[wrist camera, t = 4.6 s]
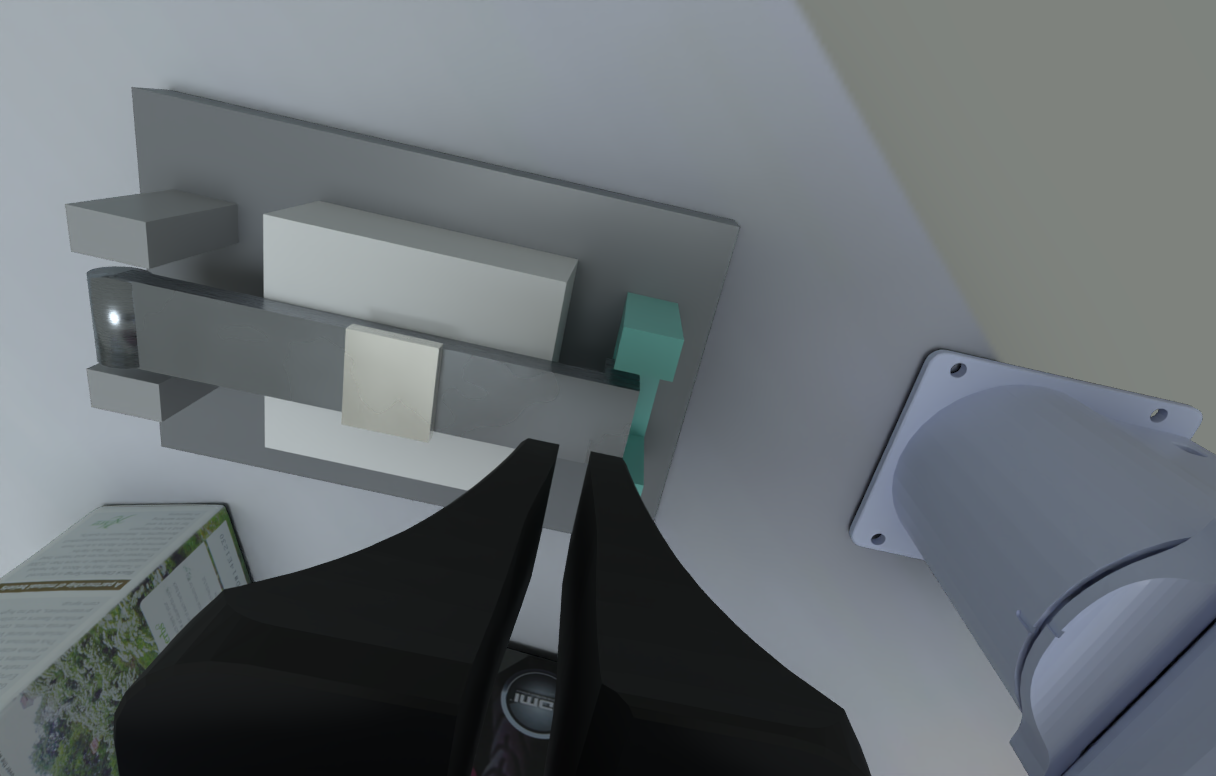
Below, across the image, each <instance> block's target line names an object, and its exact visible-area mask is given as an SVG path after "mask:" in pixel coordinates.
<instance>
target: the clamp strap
mask: <svg viewBox="0 0 1216 776" xmlns="http://www.w3.org/2000/svg"><path fill="white" fill-rule="evenodd" d="M87 281H88V289H89V297H90V305H91V313H92V322H93V330H94V338H95V346H96V354H97V361H98V362H99V363H100V364H102V365H104V366H107V367H112V368H121V369H130V368H136V369H141V370H146V371H150V372H155V373H160V374H164V375H169V376H174V377H179V378H183V379H188V380H193V381H197V382H202V383H207V384H212V385H216V386H221V387H226V388H231V389H235V390H240V391H245V392H249V393H254V394H259V395H264V396H268V397H273V398H278V399H282V400H287V401H292V402H297V403H301V404H306V405H311V406H316V407H320V408H325V409H330V410H334V411H339V412H342V419H341V425H346V426H351V427H355V428H360V429H365V430H370V431H374V432H379V433H384V434H389V435H393V436H398V437H403V438H408V439H412V440H417V441H422V442H427V443H429V441H430V440H431V438H432V437H433V431H434V432H438V433H443V434H448V435H453V436H457V437H462V438H467V439H471V440H476V441H481V442H486V443H490V444H495V445H500V446H505V447H509V448H514V449H516V448H517V447H518V445H519V444H520V443H521V442H522V441H524V440H526V439H527V438H531V439H536V440H540V441H545V442H550V443H555V444H559V445H560V446H559V450H558V455H557V458H561V459H566V460H571V461H575V462H580V463H585V464H588V461H589V457H590V452H591V451H593V452H597V453H602V454H607V455H612V456H617V457H621V458H623V455H624V451H625V447H626V443H627V439H628V435H629V432H630V428H631V424H632V420H633V416H634V412H635V408H636V404H637V400H638V397H639V393H640V375H638V374H634V373H629V372H625V371H620V370H616V369H614V364H615V359H612V358H607V359H606V363H605V368H604V372H601V371H596V370H591V369H587V368H582V367H578V366H573V365H568V364H564V363H559V362H555V361H549V360H545V359H540V358H536V357H531V356H527V355H522V354H518V353H513V352H509V351H504V350H500V349H495V348H490V347H486V346H481V345H477V344H472V343H467V342H463V341H458V340H454V339H449V338H444V337H440V336H435V335H431V334H426V333H421V332H417V331H412V330H408V329H403V328H399V327H394V326H389V325H385V324H380V323H376V322H371V321H366V320H362V319H357V318H353V317H348V316H343V315H339V314H334V313H330V312H325V311H320V310H316V309H311V308H307V307H302V306H297V305H293V304H288V303H284V302H279V301H275V300H270V299H265V298H261V297H256V296H252V295H247V294H242V293H238V292H233V291H229V290H224V289H219V288H215V287H210V286H206V285H201V284H196V283H192V282H187V281H183V280H178V279H173V278H169V277H164V276H160V275H155V274H153V273H151V272H149V271H146V270H143V269H138V268H132V267H101V268H96V269H92V270H90V271H88V272H87Z"/></svg>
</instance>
